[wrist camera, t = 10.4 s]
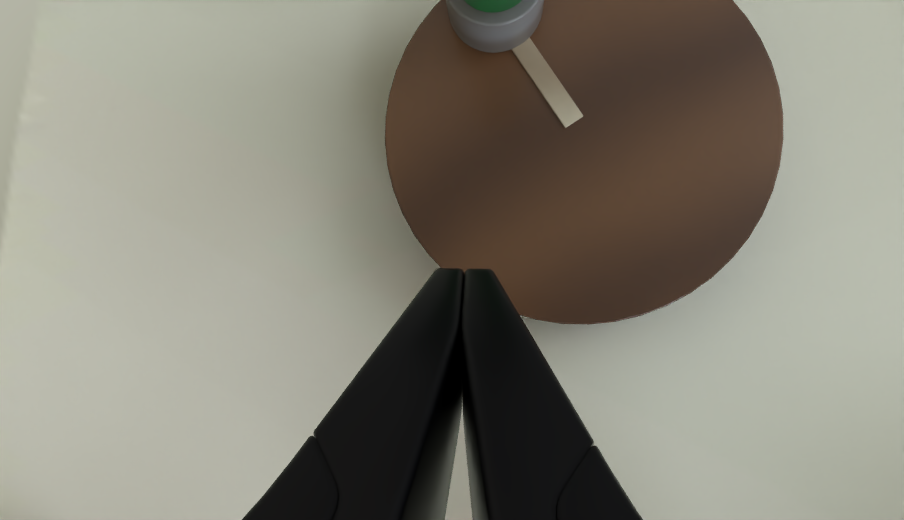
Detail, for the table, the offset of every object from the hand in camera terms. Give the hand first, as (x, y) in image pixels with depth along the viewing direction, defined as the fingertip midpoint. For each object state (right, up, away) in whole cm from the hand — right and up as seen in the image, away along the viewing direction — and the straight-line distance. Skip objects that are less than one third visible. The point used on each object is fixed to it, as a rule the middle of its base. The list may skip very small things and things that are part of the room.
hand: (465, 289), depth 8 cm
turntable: (+4, +5, +11) cm, 13 cm away
